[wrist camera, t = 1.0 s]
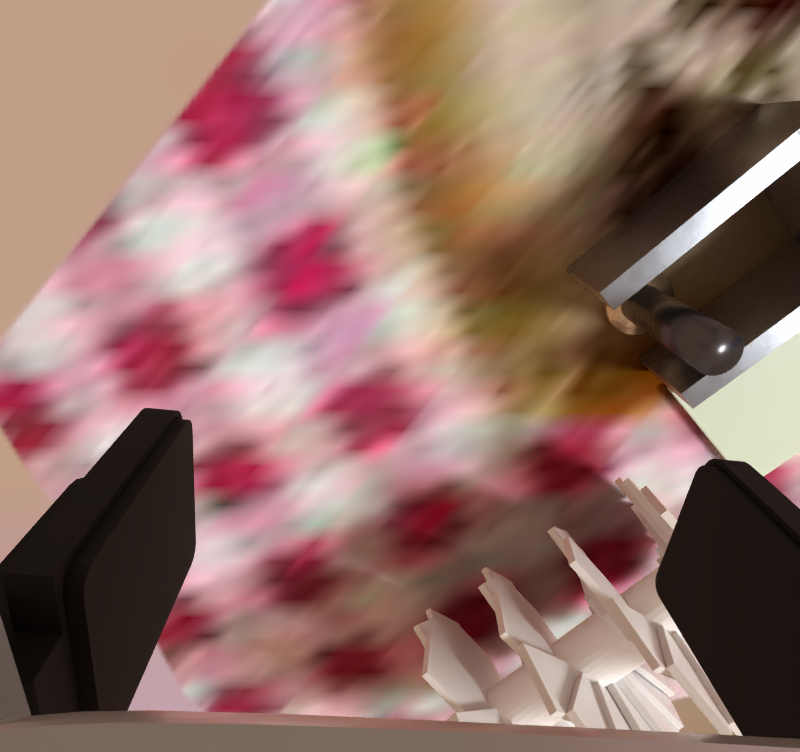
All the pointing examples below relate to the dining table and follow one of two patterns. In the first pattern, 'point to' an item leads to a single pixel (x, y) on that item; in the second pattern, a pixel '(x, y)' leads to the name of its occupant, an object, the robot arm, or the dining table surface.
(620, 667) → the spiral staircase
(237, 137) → the dining table surface
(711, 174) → the c link
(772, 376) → the board
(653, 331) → the stand
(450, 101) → the dining table surface
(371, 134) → the dining table surface
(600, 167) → the dining table surface
